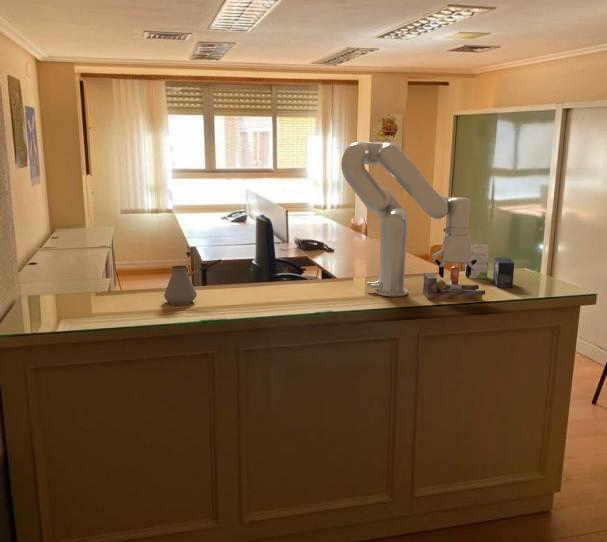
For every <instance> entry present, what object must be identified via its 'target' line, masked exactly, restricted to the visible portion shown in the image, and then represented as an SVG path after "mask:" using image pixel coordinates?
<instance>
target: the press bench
mask: <svg viewBox="0 0 607 542" xmlns="http://www.w3.org/2000/svg"><path fill="white" fill-rule="evenodd" d="M437 280H438V278H437V277H436V276H435V275H434V274H433V273H432V272H430V273H429V272H428V273H427V272H426V273H425V272H424V274H423V286H422V287H423V288H422V294H423V295H424V297H425V298H426V300H429V301H435V300H436V301H438V300H439V301H445V300H446V301H453V300H454V301H483V296H484V295H486V290H485V289H479V287H480V286H479V284H461V290H447V289H446V288H445V290H441V292H439V291H437V290H436V284H437ZM446 285H447V283H446Z"/></svg>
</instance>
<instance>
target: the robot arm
mask: <svg viewBox="0 0 607 542" xmlns="http://www.w3.org/2000/svg"><path fill="white" fill-rule="evenodd" d="M340 164H341V172H342V175H343V177H344V179H345V181H346V183H348V185H349V186H350V188H351V189H352V191H354V193H355V194H356V195H357V197H358V198H359V200H360V201H361V202H362V203H363V205H364V206H365V208H366V209H367V210H368V211H370V212H371V213H374V214H375V215H376V217H378V219H379V220H380V242H379V243H380V246H379V247H380V248H379V252H380V253H379V272H378V273H379V274H378V275H379V277H378V279H377V280H376V281H375V282H372V281H366V287H367V288H370V289H374V293H375V294H376V295H378V296H384V297H391V298H392V297H404V296H406V295H408V294H409V289H407V288H405V275H406V274H405V273H406V254H407V253H406V252H407V250H406V249H407V234H408V233H407V231H408V230H407V229H408V222H409V217H408V214H407V212H406V211H405V210H404V208H403V207H402V206H401V204H400V203H399V202H398V201H397V199H396V198H395V197H394V195H393V194H392V193H391V192H390V191H389V190H388V189H387V188H386V187H384V186H382V185H380V184H379V183H378V182H377V180H375V178H374V177H373V176H372V174H371V173H370V172H369V171H368V170H367V168H366V165H368V166H369V165H370V166H382V167H383V168H384V170H386V171H387V172H388V173H389V174H390V175H391V177H392V178H394V179H395V181H396V182H397V183H398V184H399V185H400V186H401V187H402V188H403V189H404V191H406V193H407V194H409V196H410V197H411V198H412V199H413V201H415V202H416V203H417V205H418V206H419V207H420V208H421V209H422V210H423V211H424V212H425V213H426V214H427V215H428V216H429V217H430V218H432V219H435V220H441V219H443V218H445V217H446V216H447V225H446V227H444V228H443V229H442V232H443V233H446V234H444V238H443V242H442V248H441V250H439V251H437V252H435V253H433V254H432V255H431V256H432V259H433V261H434V262H435V263H436V264H437V265H438V275H439V277H440V278H442V279H443V278H444V275H445V273H444V272H445V267H444V266H445V265H446V264H447V263H448V264H449V263H450V264H453V263H454V264H466V263H467V266H466V265H465V267H466V273H465V272H464V276H465V278H467V279H470V278H469V277H470V275H471V267H473V265H474V264H475V263H476V262H477V260H478V259H479V257H480V256H479V255H478V254H476V253H474V252H473V251H471V244H472V240H471V239H472V238H471V235H469V226H470V223H469V222H470V214H471V213H470V211H471V200H470V198H468V197H461V196H456V197H455V196H454V197H450V196H449V197H448V196H443V195H440V194H439V193H438V192H437V191H436V190H435V189H434V188H433V187H432V186H431V184H430V183H429V182H428V181H427V179H426V177H425V176H424V174H423V172H422V171H421V170H420V169H419V168H418V167H417V165H415V164H414V163H413V162H412V161H411V160H410V159H409V157H408V156H407V155H406V154H405V153H404V152H403V151H402V150H401V148H400V146H398V145H397V144H396V143H394V142H369V141H356V142H351V144H349V145H348V146H347V147H346V149H345V150H344V152H343V154H342V158H341V162H340ZM471 255H473V256H474V259H473V260H472V261H471ZM439 256H441V257H440V259H441V260H439V259H438V257H439ZM470 261H471V262H470Z"/></svg>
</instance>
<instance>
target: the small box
mask: <svg viewBox="0 0 607 542" xmlns="http://www.w3.org/2000/svg"><path fill="white" fill-rule="evenodd" d="M493 261H494V263H493V274H492V276H493V277H492V282H493V284H494V285H495V287H496V289H513V288H514V273H515V272H514V271H515V265H516V264H515V262H514V261H513V260H512V259H511V258H510V257H496V256H495V257H494V258H493Z"/></svg>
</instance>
